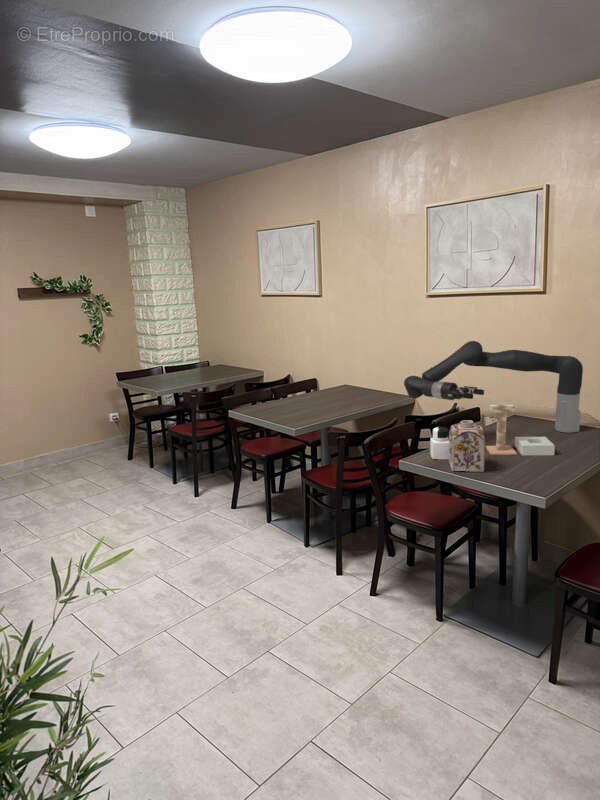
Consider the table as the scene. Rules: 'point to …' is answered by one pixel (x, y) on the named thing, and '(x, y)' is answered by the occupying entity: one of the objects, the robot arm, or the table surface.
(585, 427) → the table surface
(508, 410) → the t key
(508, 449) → the mat
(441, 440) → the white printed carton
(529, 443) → the socket block
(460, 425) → the decorative jar
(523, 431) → the table surface
